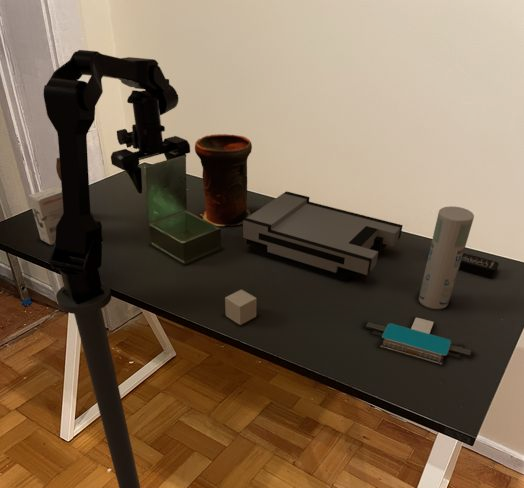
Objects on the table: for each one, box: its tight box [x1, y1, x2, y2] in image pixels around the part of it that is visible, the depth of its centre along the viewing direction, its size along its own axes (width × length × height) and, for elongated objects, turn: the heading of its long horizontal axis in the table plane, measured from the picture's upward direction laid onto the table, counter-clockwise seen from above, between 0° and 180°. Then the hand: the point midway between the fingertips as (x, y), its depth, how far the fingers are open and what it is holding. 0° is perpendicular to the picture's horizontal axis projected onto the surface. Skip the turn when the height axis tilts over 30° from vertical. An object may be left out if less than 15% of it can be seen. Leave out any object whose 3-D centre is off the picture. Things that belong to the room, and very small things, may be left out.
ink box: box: [28, 185, 63, 246], centre depth 128 cm, size 9×5×12 cm, turn 139°
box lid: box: [143, 155, 188, 224], centre depth 125 cm, size 14×11×5 cm
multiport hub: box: [458, 252, 500, 280], centre depth 123 cm, size 4×14×2 cm, turn 57°
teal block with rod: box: [365, 317, 472, 366], centre depth 101 cm, size 20×12×2 cm, turn 64°
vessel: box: [194, 133, 253, 227], centre depth 137 cm, size 14×14×20 cm
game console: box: [242, 190, 403, 282], centre depth 125 cm, size 21×32×8 cm, turn 59°
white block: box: [224, 289, 258, 326], centre depth 105 cm, size 4×4×4 cm
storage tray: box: [148, 210, 222, 266], centre depth 127 cm, size 13×11×6 cm
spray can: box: [418, 206, 475, 310], centre depth 105 cm, size 6×6×20 cm
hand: (155, 188), depth 127 cm, fingers open, 9 cm apart
